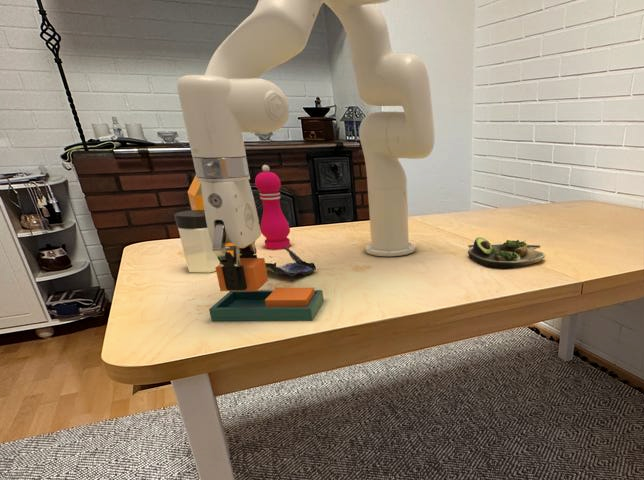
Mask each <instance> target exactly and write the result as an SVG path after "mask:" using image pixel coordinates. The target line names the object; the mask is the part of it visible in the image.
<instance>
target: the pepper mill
mask: <svg viewBox="0 0 644 480" xmlns="http://www.w3.org/2000/svg"><path fill="white" fill-rule="evenodd" d="M270 169H271V168H270V166H269V165H267V164H263V165H262V167H261V170H262V172H259V173H258V174H256V176H255V179H254V184H255V188H256V189H257V190H258V191H259V193H258V195H259V199H260V200H261V203H262V211H263V212H262V217H261V221H260V230H261V235H262V236H263V237H264V238H265V239H264V246H265V248H266V249H269V250H281V249H282V250H284V246H285V245H286V247H287V248H289V247H291V240H290V238H289V235H290V233H291V228H290V224H289V222H288V220H287V218H286V216H285V215H284V213H283V210H282V207H281V201H280V199H281V198H282V196H281V192H280V191H279V190H280V189H281V187H282V182H281V179H280V177H279V176H278V175H277V174H276V173H274V172H272V171H270ZM280 247H281V248H280Z"/></svg>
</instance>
